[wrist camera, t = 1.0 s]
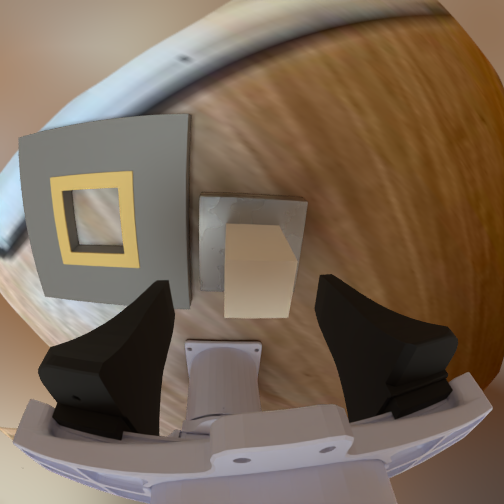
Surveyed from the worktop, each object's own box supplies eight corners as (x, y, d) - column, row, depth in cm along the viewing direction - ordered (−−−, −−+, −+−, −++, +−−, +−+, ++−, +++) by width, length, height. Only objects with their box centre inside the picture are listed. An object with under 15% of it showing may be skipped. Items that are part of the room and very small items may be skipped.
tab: (290, 283, 25) (293, 292, 23) (201, 281, 24) (200, 290, 22) (302, 197, 21) (307, 201, 20) (201, 192, 20) (199, 196, 19)
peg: (273, 271, 22) (287, 317, 17) (224, 270, 22) (224, 317, 16) (279, 225, 21) (297, 261, 15) (226, 223, 20) (225, 259, 15)
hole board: (191, 299, 24) (189, 310, 23) (51, 288, 23) (44, 297, 21) (191, 115, 18) (188, 113, 16) (28, 136, 16) (17, 137, 15)
